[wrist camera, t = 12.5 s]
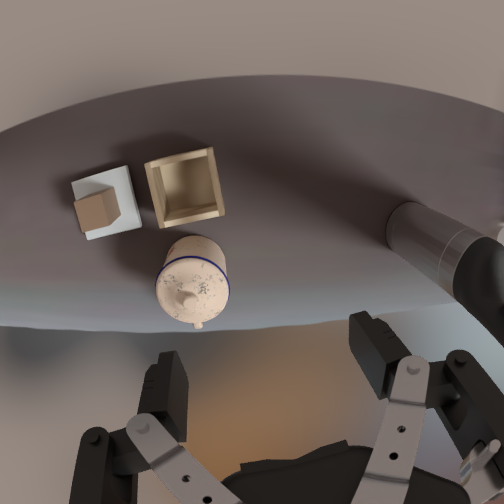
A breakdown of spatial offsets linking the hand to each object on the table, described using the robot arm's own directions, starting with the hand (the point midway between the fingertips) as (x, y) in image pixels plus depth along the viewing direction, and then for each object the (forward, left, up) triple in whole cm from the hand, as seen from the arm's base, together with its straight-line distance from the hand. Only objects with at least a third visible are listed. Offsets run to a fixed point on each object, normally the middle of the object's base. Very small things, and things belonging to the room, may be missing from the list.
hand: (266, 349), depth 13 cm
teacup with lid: (+7, +9, -30) cm, 32 cm away
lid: (+17, -4, -29) cm, 34 cm away
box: (+5, -4, -30) cm, 31 cm away
